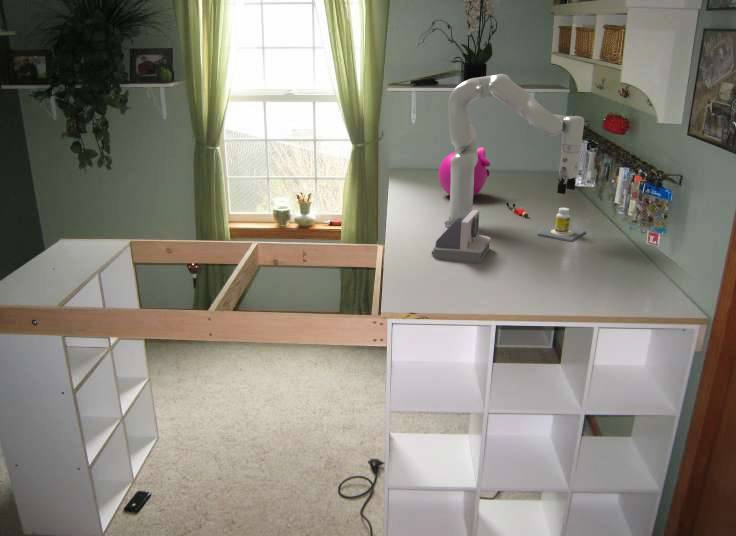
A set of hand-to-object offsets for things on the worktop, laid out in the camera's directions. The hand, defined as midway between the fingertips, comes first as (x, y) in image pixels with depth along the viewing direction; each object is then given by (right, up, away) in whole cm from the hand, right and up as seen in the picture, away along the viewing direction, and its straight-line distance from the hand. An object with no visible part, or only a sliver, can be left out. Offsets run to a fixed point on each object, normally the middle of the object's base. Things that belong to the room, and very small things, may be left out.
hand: (565, 191), depth 263 cm
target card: (0, -17, +6) cm, 18 cm away
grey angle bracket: (-44, -26, -17) cm, 54 cm away
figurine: (-32, +5, +66) cm, 73 cm away
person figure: (-11, -6, +37) cm, 39 cm away
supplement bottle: (0, -16, +6) cm, 17 cm away
